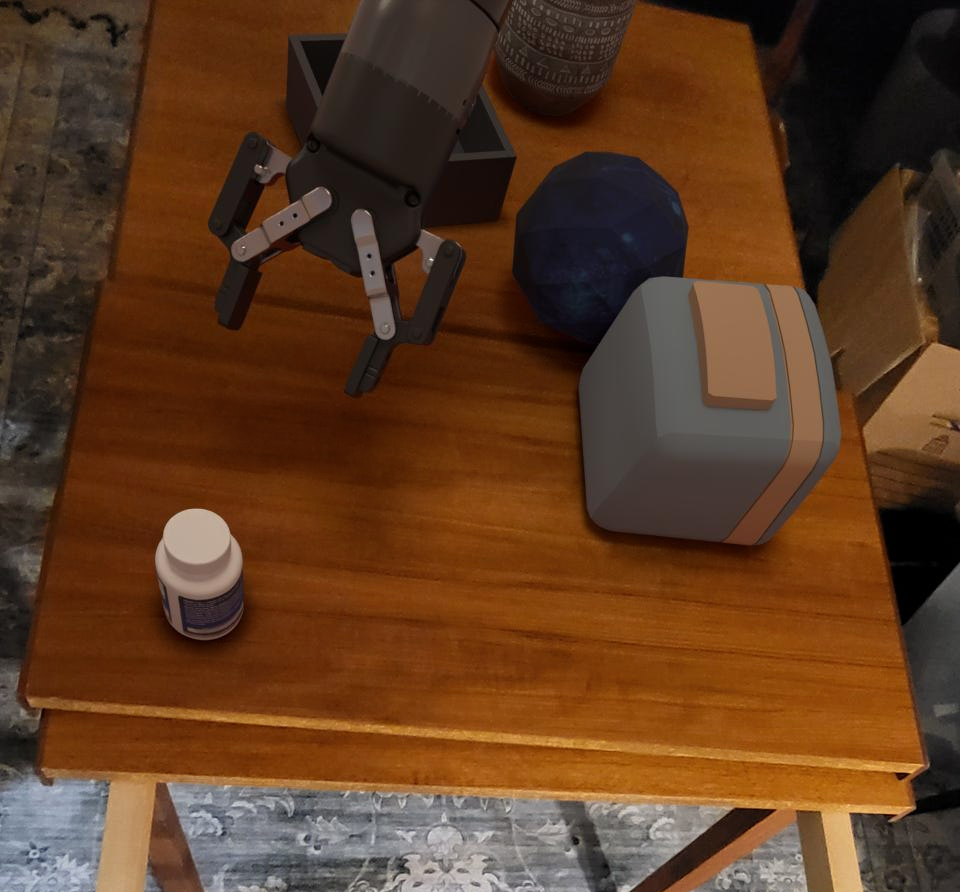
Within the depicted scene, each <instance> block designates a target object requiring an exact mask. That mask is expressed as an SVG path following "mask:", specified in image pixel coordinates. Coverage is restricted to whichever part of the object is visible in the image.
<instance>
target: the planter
mask: <svg viewBox="0 0 960 892" xmlns="http://www.w3.org/2000/svg"><path fill="white" fill-rule="evenodd" d="M637 1H638V0H514V1H513V3H512V5H511V8H510V10H509V12H508V14H507V17H506V19H505V21H504V24H503V26H502V28H501V30H500V32H499V34H498V38H497V40H496V43H495V45H494V48H493V52H494V57H495V60H496V64H497V68H498V71H499V74H500V77H501V79H502V82H503V84H504V87H505V89H506V91H507V92H508V93H509V96H511V97H512V99H514V101H515V102H516V103H518V104H519V105H521V106H522V107H524V108H526V109H527V110H529V111H532V112H534V113H537V114H540V115H545V116H554V117H557V116H564V115H568V114H570V113H572V112H574V111H575V110H577V109H579V108H580V107H581V106H583V105H585V103H587V102H588V101H590V100H591V99H592V98H593V97H594V96H595V95H597V94H598V93H599V92H600V91H601V90H602V89H603V88H604V87H605V86H606V85H607V83H608V82H609V80H610V78H611V76H612V73H613V70H614V67H615V65H616V62H617V59H618V57H619V54H620V51H621V47H622V43H623V41H624V38H625V36H626V34H627V30H628V27H629V25H630V22H631V19H632V17H633V14H634V12H635V8H636V5H637Z"/></svg>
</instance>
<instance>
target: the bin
mask: <svg viewBox="0 0 960 892" xmlns="http://www.w3.org/2000/svg"><path fill="white" fill-rule="evenodd" d="M346 35H347V32H346V33H345V32H344V33H301V34H299V33H298V34H296V33H295V34H288V36H287V39H288V40H287V43H288V44H287V62H286V63H287V64H286V65H287V67H286V92H285V95H286V96H285V108H286V111H287V114H288V116H289V119H290V122H291V125H292V127H293V129H294V132H295V135H296V137H297V139H298V143H299V145H300V147H301V150H302V149H303V147H304V146H305V144H306V141H307V137H308V134H309V131H310V128H311V125H312V122H313V120H314V117H315V115H316V112H317V110H318V107H319V104H320V102H321V99H322V97H323V94H324V92H325V89H326V86H327V84H328V81H329V79H330V76H331V74H332V71H333V69H334V66H335V63H336V61H337V58H338V56H339V53H340V50H341V48H342V45H343V43H344V40H345V38H346ZM517 158H518V155H517V154H516V151H515V150H514V148H513V145H512V143H511V141H510V139H509V137H508V134H507V132H506V131H505V128H504V126H503V124H502V122H501V120H500V118H499V116H498V113H497V112H496V110H495V107H494V106H493V103H492V101H491V99H490V97H489V95H488V93H487V91H486V88H485V87H484V85H483V83H482V85H481V88H480V90H479V93H478V95H477V97H476V104H475V106H474V108H473V110H472V113H471V115H470V117H469V119H468V120H467V121H466V122H465V124H464V127H463V129H462V131H461V133H460V136H459V138H458V140H457V142H456V145H455V147H454V149H453V152H452V154H451V156H450V159H449V161H448V163H447V165H446V168H445V170H444V172H443V174H442V177H441V179H440V181H439V184H438V186H437V188H436V190H435V193H434V195H433V197H432V199H431V202H430V204H429V206H428V208H427V211H426V214H425V220H424V228H430V227H439V226H440V227H441V226H442V227H443V226H451V225H452V226H453V225H462V224H463V225H465V224H474V223H475V224H476V223H485V222H496V221H499V220H500V217H501V213H502V211H503V210H502V209H503V206H504V203H505V198H506V195H507V192H508V189H509V186H510V181H511V179H512V175H513V171H514V168H515V165H516V161H517Z"/></svg>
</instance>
